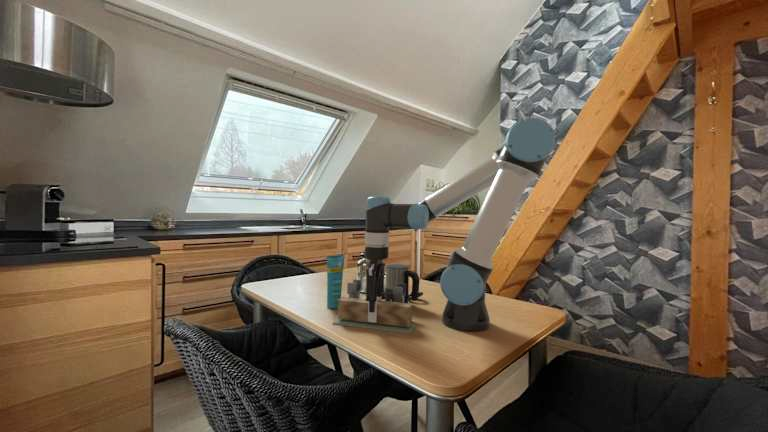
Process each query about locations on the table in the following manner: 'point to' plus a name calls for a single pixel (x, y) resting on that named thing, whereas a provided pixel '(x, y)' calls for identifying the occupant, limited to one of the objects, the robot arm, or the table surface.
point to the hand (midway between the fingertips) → (374, 319)
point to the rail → (385, 311)
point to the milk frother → (401, 275)
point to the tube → (334, 279)
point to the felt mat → (375, 325)
